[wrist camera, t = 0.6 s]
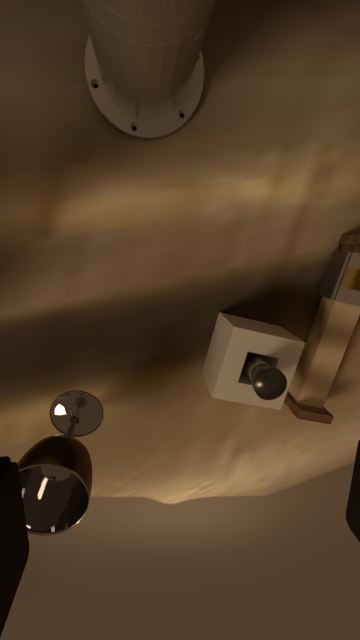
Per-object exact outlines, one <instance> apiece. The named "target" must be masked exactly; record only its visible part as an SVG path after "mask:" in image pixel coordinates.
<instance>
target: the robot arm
mask: <svg viewBox="0 0 360 640" xmlns="http://www.w3.org/2000/svg"><path fill="white" fill-rule="evenodd" d="M215 3H216V0H81V4H82V7H83V11H84V15H85V19H86V23H87V27H88V30H89V36H88V40H87V44H86V48H85V57H84V67H85V77H86V81H87V84H88V88H89V91H90V94H91V96H92V99H93V101H94V103H95V104H96V106H97V108H98V110H99V111H100V113H101V114H102V115H103V116H104V118H105V119H106V120H107V121H108V122H109V123H110V124H111V125H113V126H114V127H115V128H116V129H118V130H119V131H121V132H123V133H124V134H127V135H129V136H132V137H135V138H139V139H146V140H147V139H159V138H162V137H166V136H168V135H170V134H172V133H174V132H176V131H177V130H179V129H180V128H181V127H182V126H183V125H185V124H186V122H187V121H188V120H189V119H190V117H191V116H192V115H193V113H194V111H195V109H196V107H197V105H198V103H199V100H200V98H201V94H202V90H203V86H204V74H205V71H204V59H203V55H202V51H201V47H202V43H203V40H204V37H205V34H206V31H207V28H208V25H209V21H210V18H211V15H212V12H213V9H214V6H215ZM95 85H97V86H98V88H97V89H94V86H95ZM180 114H182V115H183V116H184V118H181V117H180ZM133 127H136V128H137V130H136V131H133V130H132V128H133ZM346 519H347V523H348V525H349V527H350V529H351V531H352V532H353V533H354V535H355V536H356V538H357V539H358V540H359V542H360V440H359V442H358V447H357V453H356V458H355V464H354V470H353V477H352V482H351V488H350V493H349V499H348V505H347V510H346ZM28 554H29V541H28V533H27V526H26V519H25V512H24V505H23V498H22V491H21V484H20V477H19V470H18V465H17V463H16V462H11V460H10V458H9V457H7V456H6V457H0V636H1V634H2V631H3V628H4V625H5V622H6V619H7V617H8V614H9V611H10V608H11V605H12V602H13V600H14V597H15V594H16V591H17V588H18V585H19V583H20V580H21V577H22V574H23V571H24V568H25V566H26V562H27V559H28Z"/></svg>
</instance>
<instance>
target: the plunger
mask: <svg viewBox="0 0 360 640" xmlns="http://www.w3.org/2000/svg"><path fill="white" fill-rule="evenodd" d="M242 369H243V370H244V372H245V373H246V374H247V376H248V377H249V378H250V380H251V381H252V387H253V389H254V391H255V393H256V394H257V395H258V396H259V397H260V398H261V399H264V400H274V399H276V398H278V397H280V396H281V395H282V394H283V393H284V391H285V390H286V387H287V379H286V376H285V375H284V374H283V373H282V372H281V371H280V370H279V369H278V368H276V367H272V366H270V365H269V364H268V363H267V362H266V361H265V360H264V359H263V358H262V357H261V356H260V355H259V354H257V353H252V352H247V356H246V359H245V362H244V365H243V368H242Z"/></svg>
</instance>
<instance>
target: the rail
mask: <svg viewBox="0 0 360 640" xmlns="http://www.w3.org/2000/svg"><path fill="white" fill-rule="evenodd" d="M339 244H340V245H341V248H340V251H349V252H355V253H359V254H360V235H341V238H340V241H339ZM359 315H360V307H359V306H355V305H351V304H347V303H343V302H339V301H335V300H332V299H329V298H326V297H322V300H321V303H320V305H319V308H318V311H317V314H316V316H315V319H314V322H313V324H312V327H311V330H310V333H309V335H308V338H307V341H306V344H305V346H304V349H303V352H302V354H301V357H300V360H299V363H298V365H297V368H296V371H295V374H294V376H293V379H292V382H291V384H290V387H289V390H288V393H287V394H286V397H285V400H284V403H285V404H286V405H287V407H288V408H289V409H290V410H291V411H292V413H293V414H294V415H295V416H296V417H297V418H298V419H304V420H309V421H315V422H320V423H326V424H331V422H332V419H333V417H334V416H332V415H331V414H330V413H329V412H328V411H327V410H326V409H325V408H324V407H323V405H324V403H325V400H326V398H327V395H328V393H329V390H330V388H331V385H332V383H333V380H334V378H335V375H336V373H337V370H338V368H339V365H340V363H341V360H342V358H343V355H344V353H345V350H346V348H347V345H348V343H349V340H350V338H351V335H352V333H353V330H354V328H355V325H356V323H357V320H358V318H359Z"/></svg>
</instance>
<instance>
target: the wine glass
mask: <svg viewBox="0 0 360 640" xmlns="http://www.w3.org/2000/svg"><path fill="white" fill-rule="evenodd" d="M102 418H103V410H102V407H101V404H100V403H99V401H98V400H97V399H96V398H95V397H94V396H92V395H90V394H89V393H86V392H82V391H70V392H66V393H64V394H62V395H60V396H59V397H57V398H56V399H55V400H54V402H53V403H52V406H51V408H50V419H51V422H52V424H53V425H54V427H55V428H56V429H57V430H58V431H60V432H61V433H63V434H64V435H55V436H50V437H46V438H44V439H42V440H40V441H39V442H38V443H36V444H35V445H33V446H32V447H31V448H30V449H29V450H28V451H27V452H26V453H25V454H24V455H23V457H22V458H21V459H20V460H19V462H18V463H17V465H18V470H19V477H20V484H21V491H22V498H23V505H24V512H25V519H26V526H27V533H29V534H34V535H42V536H43V535H54V534H58V533H62V532H65V531H67V530H69V529H71V528H72V527H74V526H75V525H76V524H77V523H78V522H79V521H80V520H81V519H82V518H83V517H84V515H85V513H86V511H87V508H88V504H89V500H90V495H91V488H92V463H91V458H90V455H89V452H88V450H87V449H86V447H85V446H84V445H83V444H82V443H81V442H80V441H78V440H77V439H75V438H74V437H81V436H85V435H88V434H90V433H92V432H93V431H95V430H96V429H97V428H98V427H99V425H100V424H101V422H102Z"/></svg>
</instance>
